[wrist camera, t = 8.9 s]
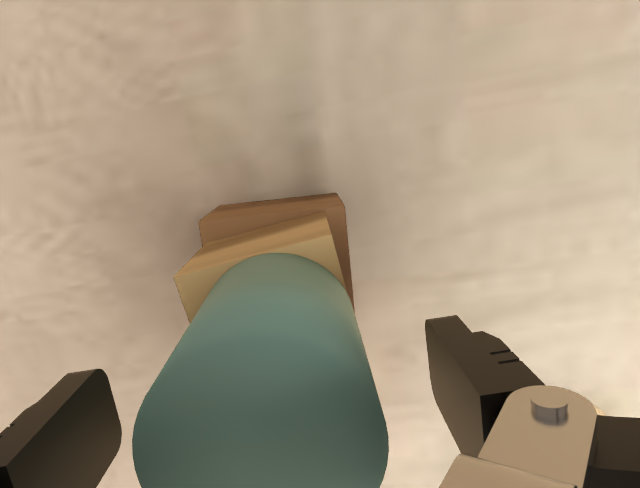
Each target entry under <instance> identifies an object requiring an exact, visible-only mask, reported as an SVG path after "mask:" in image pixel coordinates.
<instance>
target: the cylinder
mask: <svg viewBox="0 0 640 488" xmlns="http://www.w3.org/2000/svg"><path fill="white" fill-rule="evenodd" d="M132 447H133V460H134V466H135V471H136V474H137V477H138V480H139V483H140V485H141V487H142V488H380V485H381V483H382V481H383V478H384V474H385V470H386V467H387V460H388V452H389V446H388V432H387V427H386V422H385V418H384V415H383V411H382V408H381V404H380V401H379V397H378V394H377V390H376V387H375V383H374V380H373V376H372V373H371V369H370V366H369V362H368V359H367V355H366V352H365V349H364V345H363V342H362V338H361V335H360V331H359V328H358V324H357V321H356V317H355V314H354V310H353V307H352V304H351V301H350V298H349V296H348V294H347V292H346V290H345V289H344V287H343V286H342V284H341V283H340V281H339V280H338V279H337V278H336V277H335V276H334V275H333V274H332V273H331V272H330V271H329V270H327V269H326V268H325V267H323V266H322V265H320V264H319V263H317V262H315V261H313V260H311V259H308V258H305V257H302V256H299V255H295V254H290V253H267V254H261V255H257V256H254V257H251V258H248V259H246V260H244V261H242V262H239V263H238V264H236V265H235V266H233V267H232V268H230V269H229V270H228V271H227V272H226V273H224V274H223V275H222V276H221V277H220V279H219V280H218V281H217V282H216V283H215V285H214V286H213V288H212V290H211V291H210V293H209V294H208V296H207V298H206V299H205V301H204V302H203V304H202V306H201V307H200V309H199V310H198V312H197V314H196V315H195V317H194V319H193V320H192V322H191V323H190V325H189V327H188V328H187V330H186V331H185V333H184V335H183V336H182V338H181V340H180V341H179V343H178V344H177V346H176V348H175V349H174V351H173V353H172V354H171V356H170V357H169V359H168V361H167V362H166V364H165V365H164V367H163V369H162V370H161V372H160V374H159V375H158V377H157V378H156V380H155V382H154V383H153V385H152V386H151V388H150V390H149V391H148V393H147V395H146V396H145V398H144V400H143V402H142V405H141V407H140V409H139V411H138V415H137V418H136V421H135V425H134V432H133V439H132Z"/></svg>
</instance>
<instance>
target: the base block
mask: <svg viewBox="0 0 640 488" xmlns="http://www.w3.org/2000/svg"><path fill="white" fill-rule="evenodd" d="M323 210H324V211H325V214H326V218H327V221H328V224H329V228H330V231H331V235H332V238H333V242H334V246H335V249H336V253H337V257H338V260H339V264H340V268H341V272H342V275H343V279H344V283H345V286H346V290H347V294H348V296H349V298H350V301H351V304H352V307H353V310H354V301H353V290H352V280H351V269H350V258H349V247H348V237H347V226H346V215H345V206H344V204H343V202H342V201H341V199H340V198H339V196H338V194H337V193H331V194H322V195H312V196H303V197H294V198H284V199H275V200H266V201H256V202H247V203H238V204H228V205H220V206H219V207H217V208H216V209H215V210H213V211H212V212H211V213H209V214H208V215H207V216H205V217H204V218H203V219H201V220H200V221H199V222H198V223H199V229H200V235H201V241H202V247H203V246H204V245H205V244H206V243H207V242H210V241H213V240H217V239H221V238H224V237H228V236H232V235H235V234H239V233H243V232H246V231H250V230H254V229H257V228H261V227H265V226H268V225H272V224H276V223H279V222H283V221H287V220H290V219H294V218H298V217H301V216H305V215H309V214H312V213H316V212H320V211H323ZM354 314H355V312H354Z"/></svg>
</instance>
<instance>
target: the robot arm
mask: <svg viewBox="0 0 640 488" xmlns="http://www.w3.org/2000/svg"><path fill="white" fill-rule="evenodd" d="M425 332H426V342H427V351H428V360H429V370H430V379H431V385H432V390H433V394H434V397H435V400H436V403H437V405H438V407H439V409H440V411H441V413H442V415H443V417H444V419H445V422H446V424H447V426H448V428H449V430H450V432H451V434H452V436H453V438H454V440H455V442H456V444H457V446H458V448H459V450H460V452H461V454H459V455H458V456H457V457H456V459H455V460H454V462H453V463H452V465H451V467H450V469H449V471H448V472H447V474H446V476H445V478H444V480H443V481H442V483H441V485H440V487H439V488H640V418H628V417H611V416H603V415H597V412H596V409H595V407H594V406H593V404H592V403H591V402H590V401H589V400H587V399H586V398H585V397H583V396H581V395H580V394H578V393H575V392H573V391H571V390H567V389H564V388H560V387H554V386H546V385H545V384H544V383H543V382H542V381H541V380H540V379H539V378H538V377H537V376H536V375H535V374H534V373H533V372H532V371H531V370H530V369H529V368H528V367H527V366H526V365H525V364H524V363H523V362H522V361H520V360H519V358H518V357H517V356H516V355H515V354H514V353H513V352H511V351H510V349H509V348H508V347H507V346H506V345H505V344H504V343H503V342H502V341H501V340H500V339H499V338H497V337H494V336H492V335H490V334H488V333H485V332H483V331H480V332H474V333H472V332H471V331H470V330H469V329H468V328H467V326H466V325H465V324H464V323H463V322H462V321H461V320H460V318H459V317H458V316H457V315H454V316H447V317H441V318H434V319H427V320H426V322H425ZM121 437H122V431H121V424H120V420H119V416H118V413H117V409H116V406H115V402H114V398H113V395H112V391H111V387H110V384H109V380H108V377H107V375H106V373H105V372H104V371H103V370H102V369H94V370H87V371H80V372H74V373H68V374H67V375H65V376H64V377H63V378H62V379H61V380H60V381H59V382H58V383H57V384H56V385H55V386H54V387H53V388H52V389H51V390H50V391H49V392H48V393H47V394H46V395H45V396H44V397H42V398H41V399H40V400H39V401H38V402H37V403H35V404H34V405H32V406H31V407H29V408H27V409H26V410H24V411H23V412H22V413H21V414H20V415H19V416H18V417H17V418H16V419H15V420H14V421H13V422H12V423H11V424H10V427H7V428H6V429H4V430H3V431H2V432H1V433H0V488H96V487H97V485H98V484H99V482H100V481H101V479H102V477H103V476H104V474H105V472H106V471H107V469H108V467H109V466H110V464H111V462H112V461H113V459H114V458H115V456H116V454H117V453H118V451H119V448H120V444H121Z"/></svg>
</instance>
